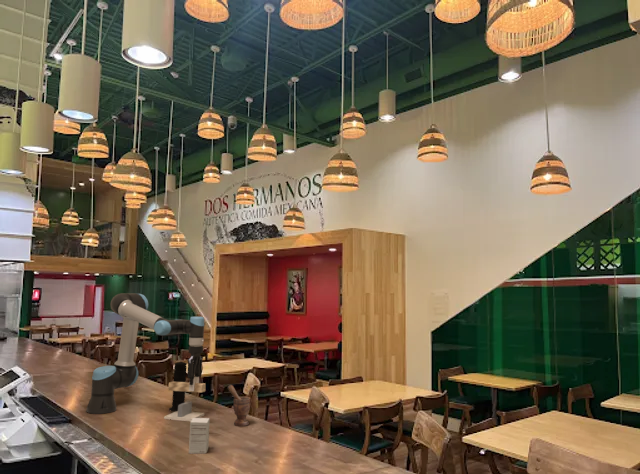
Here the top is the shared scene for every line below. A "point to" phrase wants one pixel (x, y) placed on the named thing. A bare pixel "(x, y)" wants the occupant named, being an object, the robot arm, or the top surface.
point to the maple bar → (186, 387)
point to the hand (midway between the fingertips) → (193, 390)
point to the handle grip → (179, 377)
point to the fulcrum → (184, 413)
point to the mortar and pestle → (240, 407)
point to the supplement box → (199, 435)
